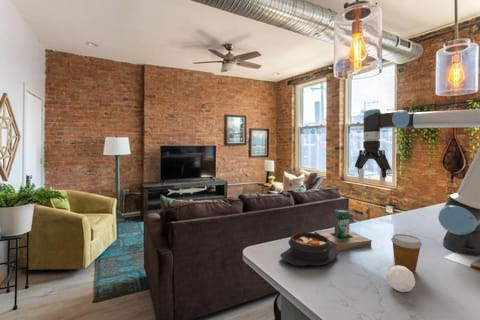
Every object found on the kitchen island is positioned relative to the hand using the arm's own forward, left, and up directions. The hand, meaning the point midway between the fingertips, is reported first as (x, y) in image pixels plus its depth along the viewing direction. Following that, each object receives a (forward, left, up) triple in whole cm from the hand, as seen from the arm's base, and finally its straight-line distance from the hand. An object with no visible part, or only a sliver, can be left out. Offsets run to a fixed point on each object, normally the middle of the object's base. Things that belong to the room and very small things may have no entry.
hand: (371, 182), depth 132 cm
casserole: (-17, +44, -27) cm, 55 cm away
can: (-5, +20, -27) cm, 34 cm away
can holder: (-5, +20, -27) cm, 34 cm away
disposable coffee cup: (-35, +15, -27) cm, 46 cm away
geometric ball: (-45, +28, -27) cm, 59 cm away
